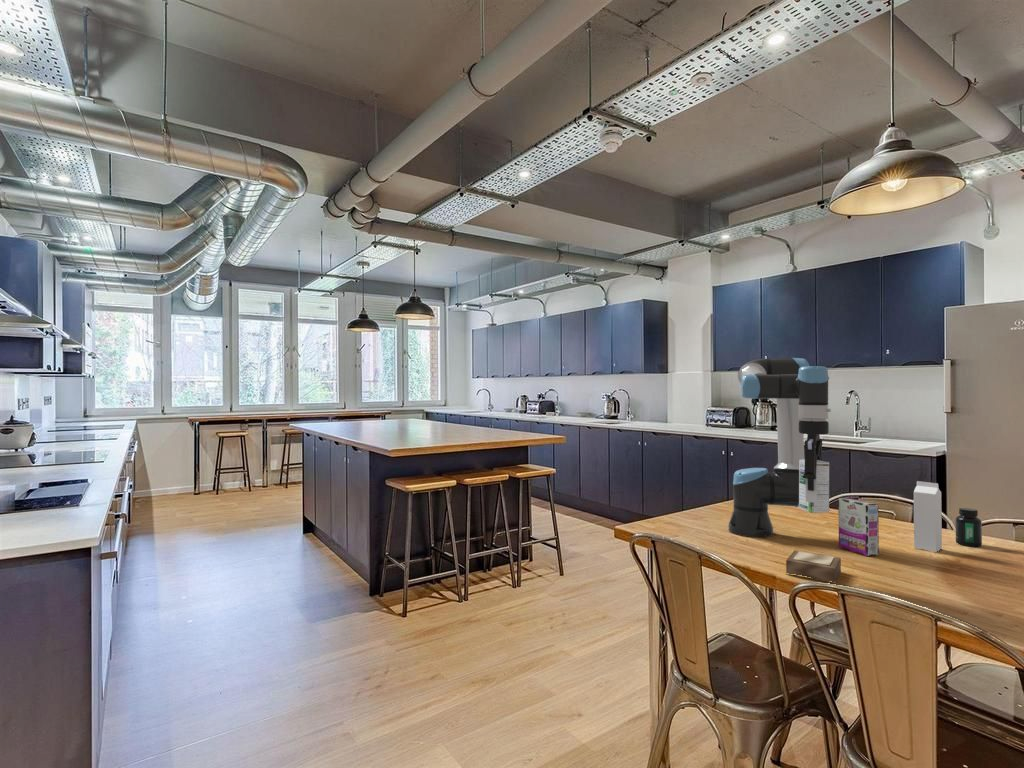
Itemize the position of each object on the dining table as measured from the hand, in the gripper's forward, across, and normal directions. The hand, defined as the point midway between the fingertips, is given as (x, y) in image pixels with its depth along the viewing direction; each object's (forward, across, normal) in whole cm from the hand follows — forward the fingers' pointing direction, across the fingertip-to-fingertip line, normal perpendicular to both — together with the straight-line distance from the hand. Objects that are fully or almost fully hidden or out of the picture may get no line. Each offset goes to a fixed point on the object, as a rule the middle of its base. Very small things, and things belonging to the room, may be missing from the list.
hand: (813, 499), depth 155 cm
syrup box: (+3, 0, 0) cm, 3 cm away
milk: (+21, +50, -26) cm, 60 cm away
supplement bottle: (+21, +65, -37) cm, 78 cm away
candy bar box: (+21, +33, -8) cm, 40 cm away
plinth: (+21, 0, 0) cm, 21 cm away
